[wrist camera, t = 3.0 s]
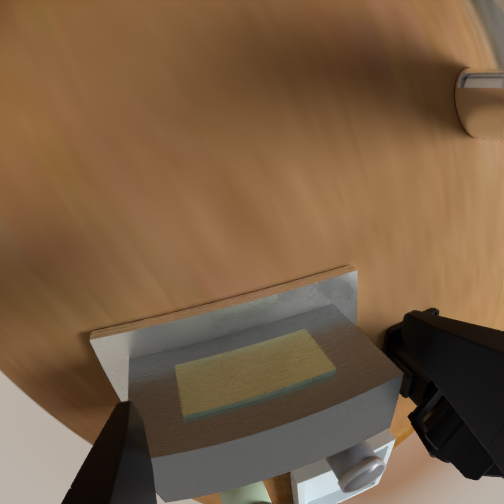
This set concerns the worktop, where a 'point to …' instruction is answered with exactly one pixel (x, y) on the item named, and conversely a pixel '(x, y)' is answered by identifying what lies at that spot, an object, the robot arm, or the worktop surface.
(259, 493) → the cylinder
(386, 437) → the tray
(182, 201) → the worktop surface
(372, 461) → the grey cup
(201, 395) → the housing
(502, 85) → the silver metal cylinder
